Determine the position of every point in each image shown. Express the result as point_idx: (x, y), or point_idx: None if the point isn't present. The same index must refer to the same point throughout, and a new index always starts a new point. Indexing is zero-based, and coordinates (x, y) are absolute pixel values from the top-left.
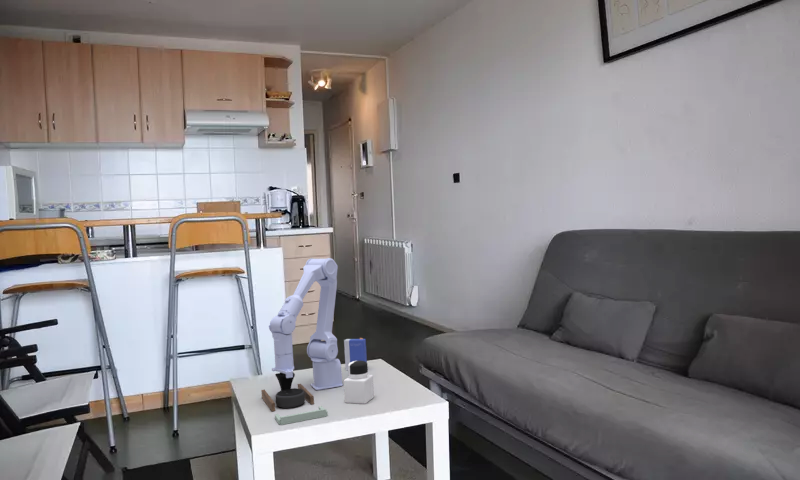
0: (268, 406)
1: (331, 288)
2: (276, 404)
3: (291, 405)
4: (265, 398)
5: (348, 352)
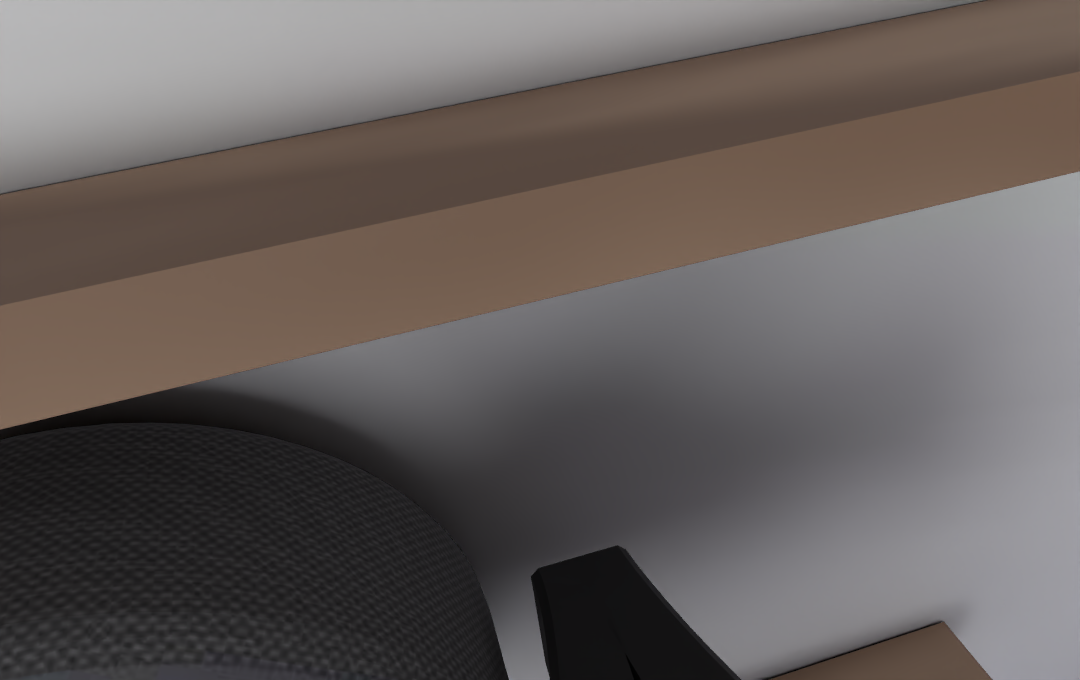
0: (67, 185)
1: None
2: (4, 440)
3: None
4: (574, 131)
5: None
